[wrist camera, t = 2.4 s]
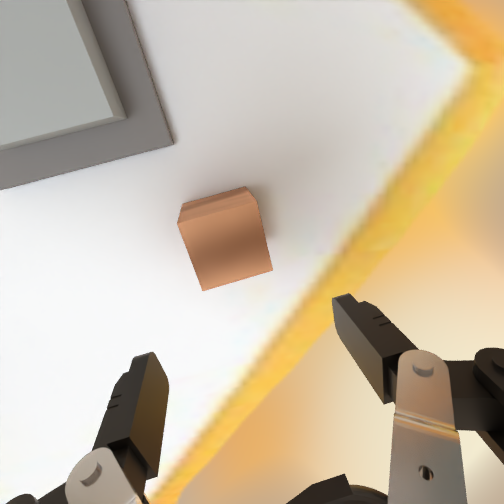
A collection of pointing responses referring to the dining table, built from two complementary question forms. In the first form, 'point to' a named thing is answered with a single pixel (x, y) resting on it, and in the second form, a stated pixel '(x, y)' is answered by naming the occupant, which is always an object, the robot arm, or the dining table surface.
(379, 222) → the dining table surface
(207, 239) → the cube
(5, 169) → the base
